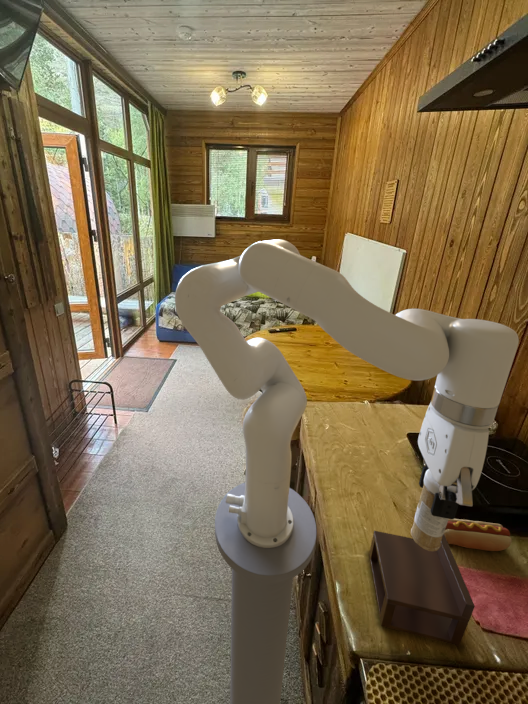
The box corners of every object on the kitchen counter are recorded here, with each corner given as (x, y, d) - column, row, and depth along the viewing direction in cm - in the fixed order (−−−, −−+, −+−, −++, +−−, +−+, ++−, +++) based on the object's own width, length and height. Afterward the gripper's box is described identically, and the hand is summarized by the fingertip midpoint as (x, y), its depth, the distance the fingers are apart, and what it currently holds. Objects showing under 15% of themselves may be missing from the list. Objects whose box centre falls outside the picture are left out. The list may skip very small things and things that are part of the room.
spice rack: (381, 626, 53) (391, 586, 49) (368, 555, 64) (376, 519, 61) (459, 646, 50) (475, 606, 47) (432, 569, 61) (443, 532, 58)
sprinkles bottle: (420, 522, 56) (436, 462, 51) (446, 545, 52) (466, 482, 48) (404, 533, 54) (419, 472, 49) (429, 558, 50) (448, 494, 46)
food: (495, 533, 69) (501, 516, 67) (513, 558, 63) (520, 541, 62) (429, 525, 70) (434, 509, 69) (441, 550, 65) (447, 532, 63)
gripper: (415, 374, 53) (396, 459, 59) (460, 439, 37) (428, 547, 43) (463, 379, 51) (439, 466, 57) (532, 449, 36) (489, 560, 41)
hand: (435, 500), depth 50 cm, fingers closed on sprinkles bottle, 4 cm apart
